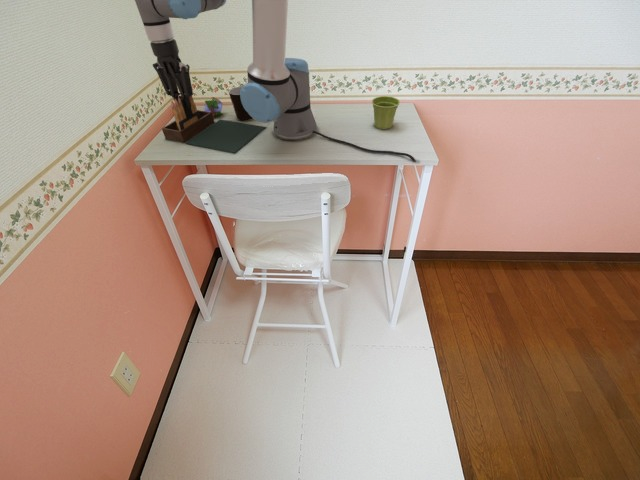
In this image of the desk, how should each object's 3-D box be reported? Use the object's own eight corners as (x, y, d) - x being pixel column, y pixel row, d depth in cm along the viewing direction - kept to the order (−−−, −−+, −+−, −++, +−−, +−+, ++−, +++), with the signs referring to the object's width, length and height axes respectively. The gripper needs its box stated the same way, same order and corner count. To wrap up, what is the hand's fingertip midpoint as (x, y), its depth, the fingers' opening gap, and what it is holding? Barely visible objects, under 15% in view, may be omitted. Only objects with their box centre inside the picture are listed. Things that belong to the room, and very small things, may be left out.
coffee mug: (253, 122, 123) (248, 95, 116) (231, 121, 124) (225, 94, 118) (261, 110, 132) (257, 83, 125) (241, 109, 133) (236, 83, 126)
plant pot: (399, 122, 119) (403, 98, 113) (392, 133, 113) (395, 108, 107) (374, 118, 122) (376, 94, 116) (366, 129, 116) (368, 104, 110)
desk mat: (265, 127, 120) (265, 126, 119) (234, 153, 106) (234, 152, 106) (220, 120, 126) (220, 119, 125) (185, 144, 112) (185, 142, 112)
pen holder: (214, 122, 124) (211, 112, 122) (184, 143, 113) (180, 131, 110) (197, 119, 127) (193, 109, 124) (165, 139, 116) (161, 128, 113)
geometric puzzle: (219, 115, 124) (218, 93, 123) (201, 116, 124) (200, 94, 123) (225, 120, 131) (224, 99, 130) (208, 120, 131) (207, 100, 130)
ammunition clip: (183, 136, 116) (171, 101, 108) (179, 135, 116) (167, 101, 108) (202, 124, 123) (192, 90, 115) (198, 123, 123) (188, 90, 115)
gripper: (190, 38, 100) (210, 114, 116) (152, 36, 105) (177, 110, 121) (173, 44, 95) (197, 123, 111) (134, 41, 100) (163, 118, 116)
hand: (187, 116), depth 116 cm, fingers closed on ammunition clip, 2 cm apart
